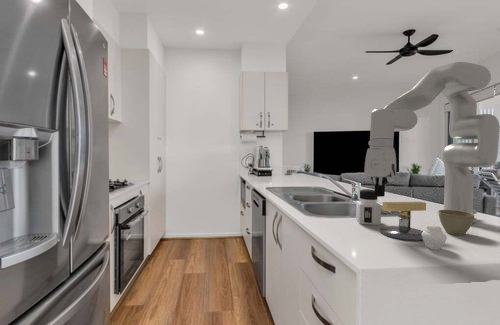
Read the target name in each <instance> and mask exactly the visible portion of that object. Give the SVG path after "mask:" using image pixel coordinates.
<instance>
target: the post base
mask: <svg viewBox="0 0 500 325" xmlns="http://www.w3.org/2000/svg"><path fill="white" fill-rule="evenodd" d="M411 213H412V211H408V215H409V217H408V218H401V217H400V218H399V217H398V225H387V226H382V227H381V228H380V233H381V234H382V235H383V236H386V237H388V238H391V239H395V240H401V241H406V242H408V241H410V242H422V241H423V239H422V238H423V237H422V232H423V231H424V230H421V229H419V228H414V227H411V218H412V216H411V215H412V214H411ZM423 242H424V241H423Z"/></svg>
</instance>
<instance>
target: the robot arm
mask: <svg viewBox="0 0 500 325" xmlns="http://www.w3.org/2000/svg"><path fill="white" fill-rule="evenodd" d="M491 77H492V74H491V71H490V70H489V68H487V67H486V66H484V65H481V64H476V63H472V62H466V61H454V62H451V63H448V64H444V65H441V66H437V67H435V68H432V69H430V70H429V71H427V73H426V74H425V75H424V76H423V77H422V78H421V79H420V80H419V81H418V82H417V83H416V85H414V86H413V87H412V88H411V89H409V91H407V92H405V93H403V94H402V95H401V96H399V97H397V98H396V99H394V100H393V101H391V102H389V103H388V104H387V105H386V106H384V108H377V109H373V110H372V111H371V113H370V128H369V129H370V131H369V132H370V134H369V135H370V136H369V141H368V146H369V148H367V150H366V155H365V161H364V174H365V176H366V178H367V179H370V180H371V181H372V184H373V185H374V190H375V191H374V196H378V198H379V197H380V198H381V197H385V194H386V192H385V191H386V186H387V184H388V183H389V182H393V181H395V176H396V175H397V156H396V155H397V153H396V150H395V148H394V136H395V132H406V131H409V130H413V128H415V127H416V126H417V124H418V115H417V114H416V112H415V111H419V110H421V109H423V108H425V107H427V106H430V105H431V104H432V103H433V102H434V100H435V99H437V97H438V96H439V95H440V94H441V93H442V95H443V96H444V97H445V98H446V100H447V101H448V103H449V105H450V109H449V110H450V112H449V122H448V123H449V124H448V125H449V126H448V134H449V136H450V138H452V139H454V140H457V141H458V140H460V141H461V140H463V141H465V140H477V142H456V143H454V142H453V143H450V144H448V145H446V146H445V147H444V148H443V150H442V161H443V165H444V166H443V167H444V188H443V189H444V191H443V192H444V193H443V210H458V211H464V212H469V213H472V214H474V215H476V214H477V213H478V210H476V209H474V186H475V185H474V184H475V180H474V175H473V173H472V172H471V170H470V169H469V168H490V167H492V166H494V165H495V164H496V162H497V159H498V156H499V142H500V141H499V140H500V122H499V119H498V118H497V117H496V116H495V115H493V114H491V113H482V114H481V113H480V114H477V108H478V104H477V101H476V99H475V98H474V97H473V96H472V95H471V94H470V92H475V91H478V90H483V89H484V88H486V87H487V86H488V85H490V82H491V80H492V78H491ZM476 223H478V219H477V218H476V217H474V220H473V222H472V224H476Z"/></svg>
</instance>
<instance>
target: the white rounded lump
mask: <svg viewBox="0 0 500 325" xmlns="http://www.w3.org/2000/svg"><path fill="white" fill-rule="evenodd" d="M422 231H423V232H422V237H423V238H422V239H423V243H424V244H425V246H426V248H427V249H429V250H432V251H433V250H434V251H440V250H441V249H442V247H443V246H444V245H445V243H446V241H447V235H446V234H445V233H444V232H443V231H442V228H441V227H440V226H439V225H437V224H429V225H427V226H426V229H424V230H422Z"/></svg>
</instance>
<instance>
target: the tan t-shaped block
mask: <svg viewBox="0 0 500 325" xmlns="http://www.w3.org/2000/svg"><path fill="white" fill-rule="evenodd" d="M426 210H427V203H426V202H425V201H383V202H382V205H381V211H384V212H400V213H399V214H398V215H397V216H398V219H399V218H400V217H401V218H408V217H409V215H408V211H411V212H416V211H418V212H421V211H422V212H423V211H425V212H426Z"/></svg>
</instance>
